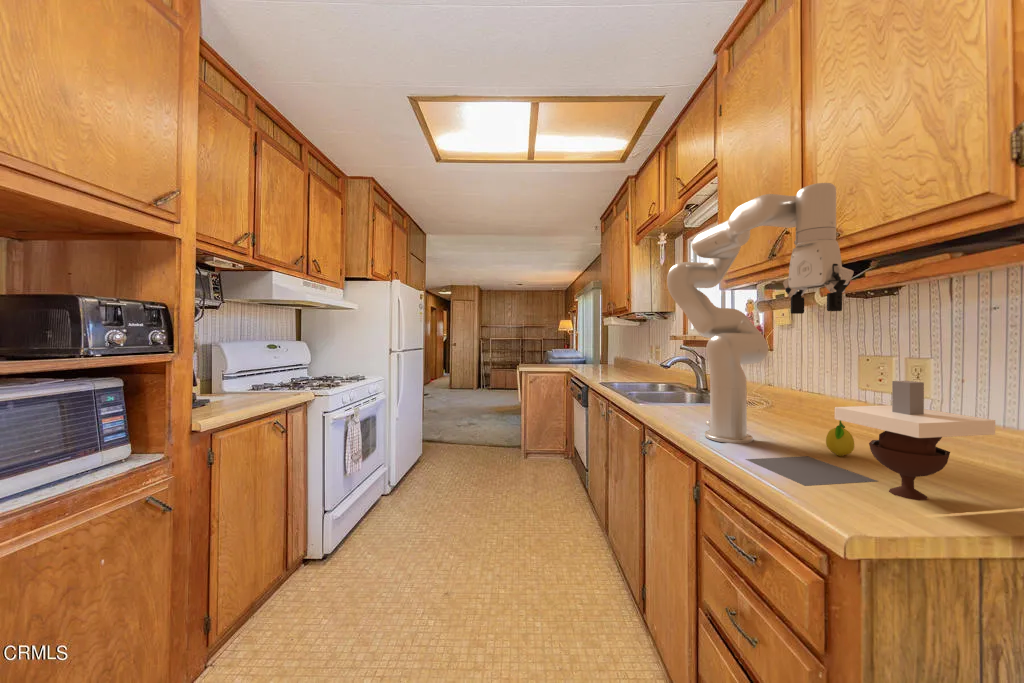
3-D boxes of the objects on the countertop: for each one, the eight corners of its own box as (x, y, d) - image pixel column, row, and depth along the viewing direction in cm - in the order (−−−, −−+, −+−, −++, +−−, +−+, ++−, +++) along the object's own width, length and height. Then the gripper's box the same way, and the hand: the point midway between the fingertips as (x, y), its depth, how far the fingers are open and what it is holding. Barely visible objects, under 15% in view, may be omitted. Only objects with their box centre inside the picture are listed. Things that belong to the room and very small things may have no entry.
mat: (745, 460, 96) (745, 459, 96) (807, 457, 98) (807, 456, 98) (805, 487, 79) (805, 485, 79) (878, 483, 81) (878, 481, 81)
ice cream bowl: (887, 482, 81) (887, 410, 81) (963, 503, 71) (964, 421, 71) (856, 489, 78) (856, 415, 77) (932, 513, 67) (933, 427, 67)
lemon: (840, 452, 102) (841, 414, 101) (863, 459, 96) (863, 419, 96) (817, 453, 101) (817, 415, 101) (838, 461, 95) (838, 420, 95)
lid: (834, 419, 81) (834, 378, 81) (898, 416, 83) (898, 376, 83) (918, 438, 66) (919, 388, 66) (995, 434, 68) (995, 385, 67)
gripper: (771, 247, 99) (771, 314, 100) (835, 229, 82) (835, 310, 82) (798, 247, 100) (798, 314, 100) (867, 229, 83) (866, 310, 83)
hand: (814, 312), depth 91 cm, fingers open, 9 cm apart
